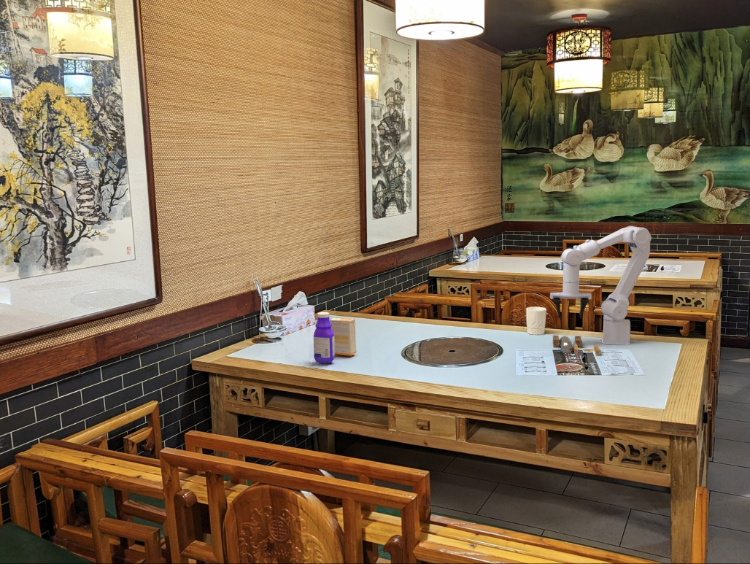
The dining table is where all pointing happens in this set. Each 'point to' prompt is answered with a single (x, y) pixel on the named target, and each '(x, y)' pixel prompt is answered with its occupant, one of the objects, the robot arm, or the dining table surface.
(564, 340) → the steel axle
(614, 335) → the robot arm
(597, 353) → the oak cradle
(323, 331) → the bottle
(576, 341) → the bearing block
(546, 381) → the dining table surface
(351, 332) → the supplement box
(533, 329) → the white cup
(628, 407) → the dining table surface
